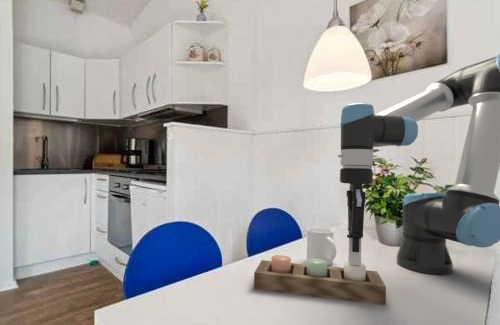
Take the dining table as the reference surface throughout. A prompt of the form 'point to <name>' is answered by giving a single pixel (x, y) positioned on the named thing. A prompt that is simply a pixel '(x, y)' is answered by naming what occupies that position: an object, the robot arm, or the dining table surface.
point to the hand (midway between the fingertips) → (354, 263)
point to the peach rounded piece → (281, 264)
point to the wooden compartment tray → (321, 283)
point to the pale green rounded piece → (317, 267)
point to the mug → (321, 244)
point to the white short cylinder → (354, 272)
